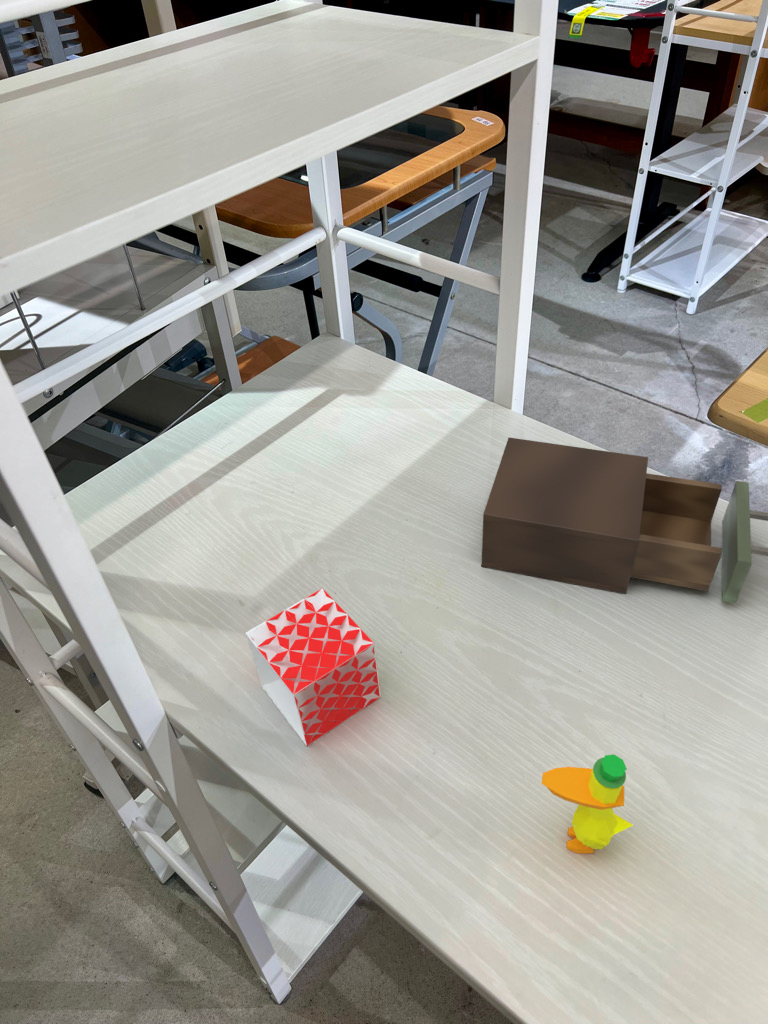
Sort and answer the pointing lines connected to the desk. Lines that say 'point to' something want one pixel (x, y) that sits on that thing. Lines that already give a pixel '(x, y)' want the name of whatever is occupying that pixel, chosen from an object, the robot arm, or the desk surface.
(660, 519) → the drawer
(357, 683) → the red patterned cube
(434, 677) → the desk surface
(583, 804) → the toy figure
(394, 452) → the desk surface
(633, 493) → the cabinet
